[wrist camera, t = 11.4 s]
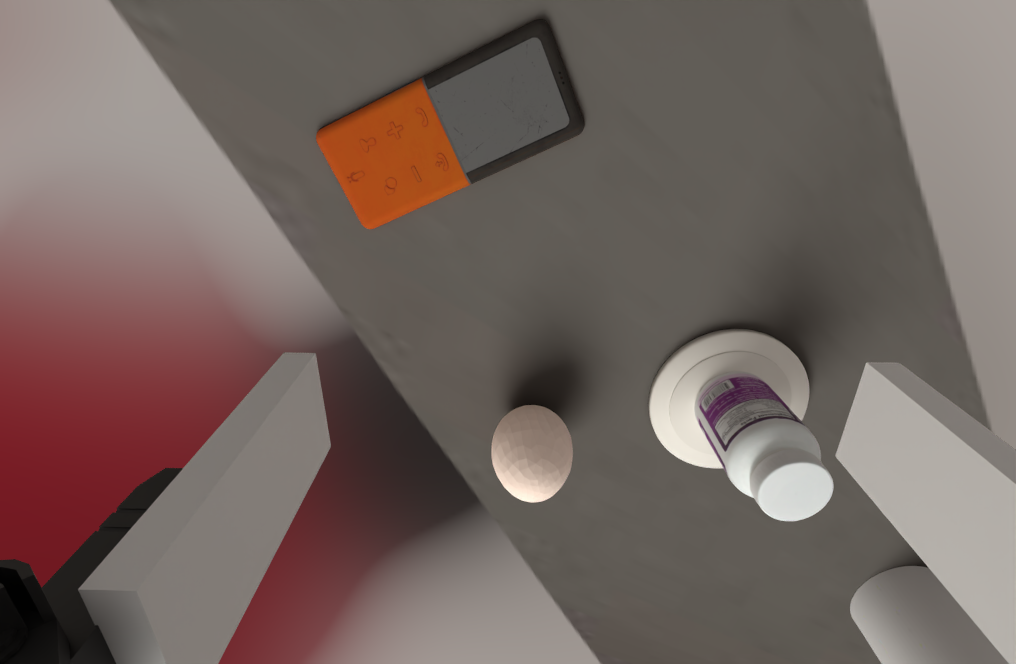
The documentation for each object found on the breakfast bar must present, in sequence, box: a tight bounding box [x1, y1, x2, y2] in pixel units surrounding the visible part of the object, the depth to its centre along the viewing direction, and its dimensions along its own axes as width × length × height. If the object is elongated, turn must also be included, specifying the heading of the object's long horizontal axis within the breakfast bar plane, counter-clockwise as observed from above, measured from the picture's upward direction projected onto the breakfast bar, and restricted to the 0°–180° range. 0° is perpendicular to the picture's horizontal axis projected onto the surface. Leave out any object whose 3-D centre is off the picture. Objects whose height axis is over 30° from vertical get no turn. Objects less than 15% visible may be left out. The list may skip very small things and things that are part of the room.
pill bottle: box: [694, 371, 833, 521], centre depth 33 cm, size 5×5×10 cm
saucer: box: [648, 329, 809, 468], centre depth 38 cm, size 11×11×1 cm
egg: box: [492, 405, 573, 502], centre depth 36 cm, size 6×6×8 cm
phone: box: [316, 20, 584, 229], centre depth 32 cm, size 6×1×15 cm
